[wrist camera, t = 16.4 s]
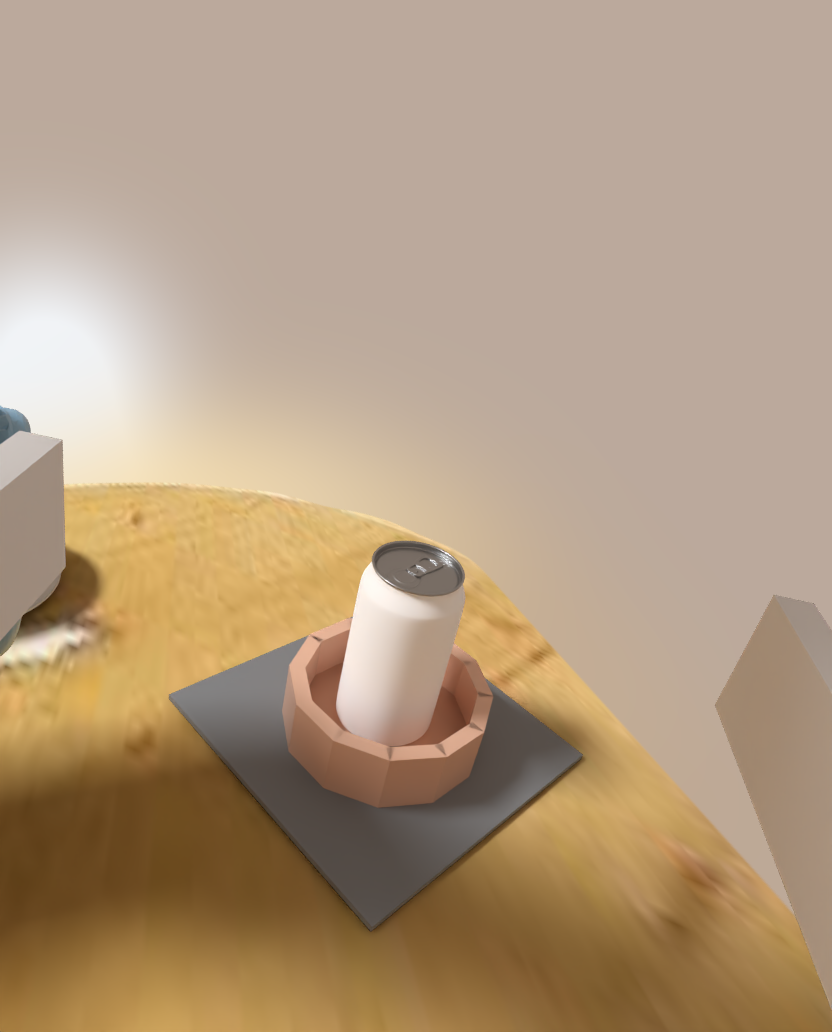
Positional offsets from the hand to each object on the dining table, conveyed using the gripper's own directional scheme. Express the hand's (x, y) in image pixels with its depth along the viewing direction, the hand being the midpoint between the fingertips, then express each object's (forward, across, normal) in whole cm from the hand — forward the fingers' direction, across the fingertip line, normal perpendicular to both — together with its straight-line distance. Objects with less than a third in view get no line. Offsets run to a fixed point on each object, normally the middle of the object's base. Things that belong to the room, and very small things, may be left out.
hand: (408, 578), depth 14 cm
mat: (+26, +2, -30) cm, 40 cm away
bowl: (+26, +2, -30) cm, 40 cm away
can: (+26, +2, -29) cm, 39 cm away
